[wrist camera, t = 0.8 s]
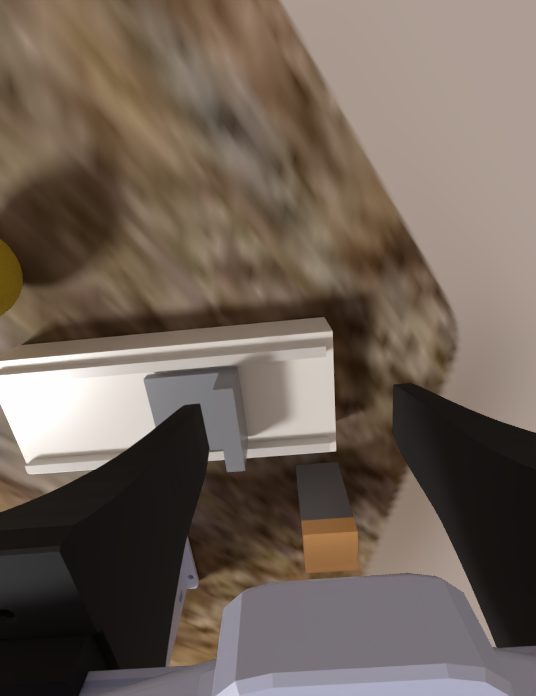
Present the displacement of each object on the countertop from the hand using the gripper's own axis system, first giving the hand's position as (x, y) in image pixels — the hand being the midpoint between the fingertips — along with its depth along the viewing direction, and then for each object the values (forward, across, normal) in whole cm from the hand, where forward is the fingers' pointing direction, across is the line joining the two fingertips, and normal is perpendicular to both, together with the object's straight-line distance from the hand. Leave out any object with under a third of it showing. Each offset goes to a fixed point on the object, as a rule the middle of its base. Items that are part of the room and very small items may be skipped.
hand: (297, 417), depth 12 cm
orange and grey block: (+10, -1, +12) cm, 15 cm away
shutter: (+6, +5, +3) cm, 9 cm away
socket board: (+10, +7, +3) cm, 12 cm away
